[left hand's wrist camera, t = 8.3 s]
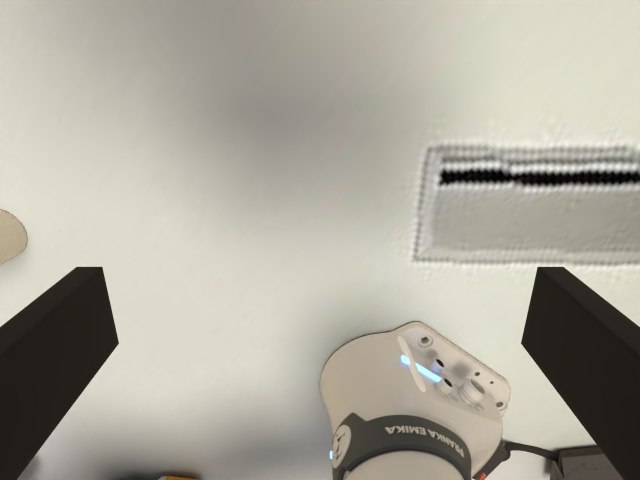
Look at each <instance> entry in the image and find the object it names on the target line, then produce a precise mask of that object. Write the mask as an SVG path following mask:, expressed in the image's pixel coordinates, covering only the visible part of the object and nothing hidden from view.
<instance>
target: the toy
mask: <svg viewBox="0 0 640 480" xmlns="http://www.w3.org/2000/svg"><path fill="white" fill-rule="evenodd" d="M550 480H623V478H622V477H621V476H620V474H619V473H618V472H617V470H616V469H615V468H614V466H613V465H612V464H611V462H610V461H609V460H608V458H607V457H606V456H605V454H604V453H603V452H602V450H601V449H600V448H599V447H590V448H580V449H570V450H561V452H560V453H559V460H558V466H557V464H556V462H555V461H552V465H551V475H550Z"/></svg>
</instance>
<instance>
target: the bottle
mask: <svg viewBox="0 0 640 480" xmlns="http://www.w3.org/2000/svg"><path fill="white" fill-rule="evenodd" d="M26 244H27V234H26V231H25V229H24V227H23V225H22V224H21V223H20V221H19V220H18V219H17V218H15V217H14V216H13V215H11V214H10V213H8V212H5V211H3V210H0V265H2V264H3V263H5V262H7V261H8V260H10V259H12V258H13V257H15V256H17V255H18V254H20V253H21V252H22V251H23V250H24V249H25V247H26Z"/></svg>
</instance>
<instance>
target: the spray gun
mask: <svg viewBox="0 0 640 480" xmlns="http://www.w3.org/2000/svg"><path fill="white" fill-rule="evenodd" d="M120 480H122V479H120ZM158 480H198V479H190V478H182V477H174V476H163V477H161V478H160V479H158Z"/></svg>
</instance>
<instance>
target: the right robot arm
mask: <svg viewBox="0 0 640 480" xmlns="http://www.w3.org/2000/svg"><path fill="white" fill-rule="evenodd" d="M423 337H427V338H426V339H424V340H422V338H423ZM510 391H511V389H510V386H509V384H508V382H507V381H506V380H505V379H504V378H502V377H501V376H499V375H498V374H496V373H495V372H493V371H492V370H491V369H489V368H488V367H486V366H485V365H483V364H482V363H480V362H479V361H477V360H476V359H474V358H473V357H471V356H470V355H469V354H467V353H466V352H464V351H463V350H461V349H460V348H458V347H457V346H455V345H454V344H452V343H451V342H450V341H448V340H447V339H445V338H444V337H442V336H441V335H439V334H438V333H436V332H435V331H433V330H432V329H430V328H429V327H428V326H426V325H425V324H423V323H421V322H412V323H409V324H406V325H404V326H402V327H400V328H398V329H396V330H394V331H391V332H386V333H379V334H372V335H367V336H363V337H360V338H357V339H355V340H353V341H350V342H349V343H347V344H345V345H344V346H342V347H341V348H339V349H338V350H337V351H336V352H335V353H334V354H333V355H332V356H331V357H330V358H329V360H328V361H327V363H326V364H325V366H324V368H323V371H322V374H321V378H320V392H321V396H322V399H323V401H324V404H325V406H326V409H327V412H328V415H329V418H330V422H331V427H332V432H333V448H332V451H330V459H332V466H333V480H471V478H473V479H475V480H484V479H485V478H486V477H487V476H488V475H489V474H490V473H491V472H492V471H493V470H494V469H495V468H496V467H497V466H498V465H499V464H500V463H501V462H502V461H506V460H507V459H509V458H510V451H512V450H520V451H527V452H531V453H535V454H538V455H541V456H543V457H546V458H548V459H551V460H553V461H555V462H557V463H558V460H559V456H557V455H555V454H553V453H551V452H548V451H546V450H543V449H540V448H537V447H534V446H529V445H524V444H518V443H508V444H506V445H504V446H503V444H502V442H501V437H502V433H503V422H502V416H503V415H504V413H505V411H506V409H507V406H508V403H509V400H510ZM497 402H498V403H497Z"/></svg>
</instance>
